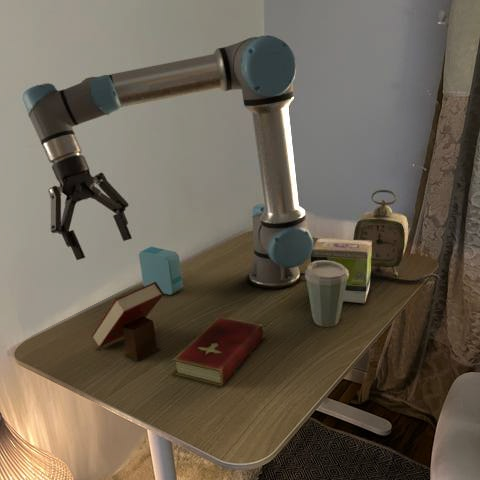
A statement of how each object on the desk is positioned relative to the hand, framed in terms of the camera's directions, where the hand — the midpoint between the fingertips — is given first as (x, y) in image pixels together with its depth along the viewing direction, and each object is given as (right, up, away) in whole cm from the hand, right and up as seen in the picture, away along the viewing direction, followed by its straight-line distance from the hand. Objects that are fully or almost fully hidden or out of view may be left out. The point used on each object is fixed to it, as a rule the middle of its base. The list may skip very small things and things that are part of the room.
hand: (105, 249), depth 121 cm
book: (+6, -17, +1) cm, 18 cm away
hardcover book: (+27, -25, -1) cm, 37 cm away
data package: (+9, -8, +34) cm, 36 cm away
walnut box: (+8, -24, +2) cm, 26 cm away
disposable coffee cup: (+53, -17, +11) cm, 57 cm away
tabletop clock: (+73, -2, +36) cm, 82 cm away
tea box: (+59, -10, +24) cm, 65 cm away
